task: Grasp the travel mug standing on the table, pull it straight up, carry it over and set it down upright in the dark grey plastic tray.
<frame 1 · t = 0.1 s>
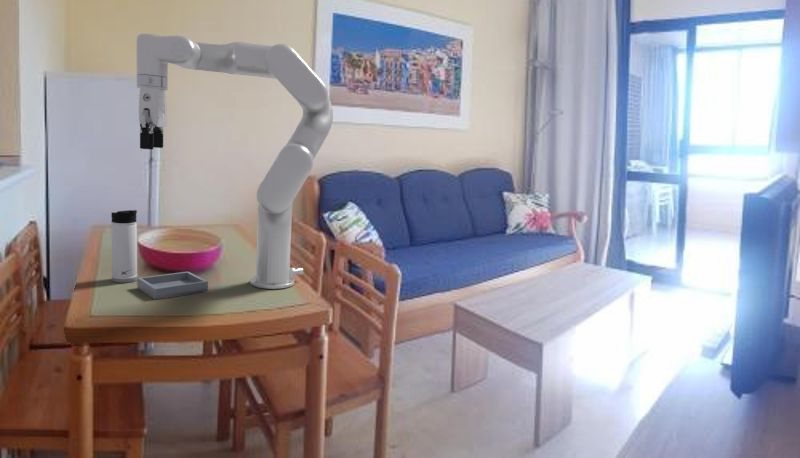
hand: (152, 148, 152), 37 cm above the table, tool pointing down, fingers open, 9 cm apart
travel mug: (125, 280, 157), on the table
tray: (172, 289, 152), on the table
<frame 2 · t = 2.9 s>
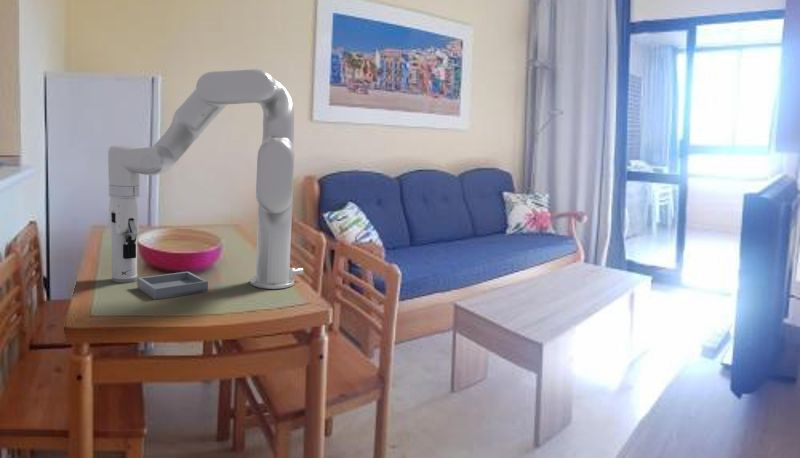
hand: (124, 255, 156), 7 cm above the table, tool pointing down, fingers closed on travel mug, 6 cm apart
travel mug: (125, 280, 157), on the table, touching gripper
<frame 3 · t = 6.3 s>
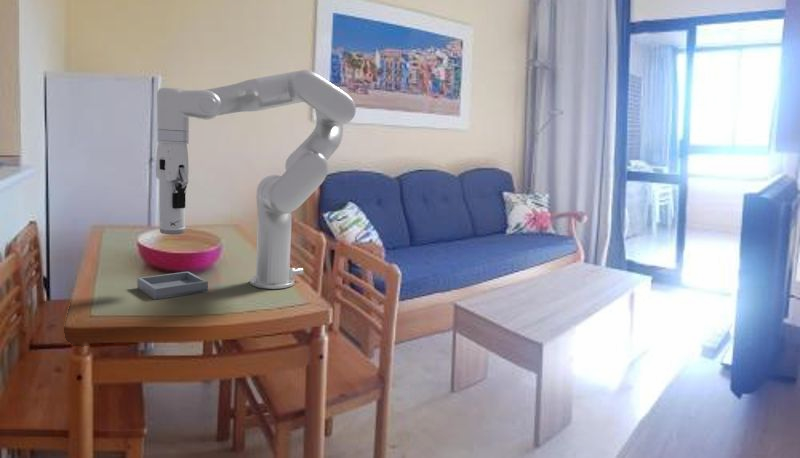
hand: (173, 205, 148), 23 cm above the table, tool pointing down, fingers closed on travel mug, 6 cm apart
travel mug: (173, 233, 149), point 16 cm above the table, touching gripper
when the fingers open (9 cm above the table, at t = 9.3 s): travel mug stays where it is, resting on tray.
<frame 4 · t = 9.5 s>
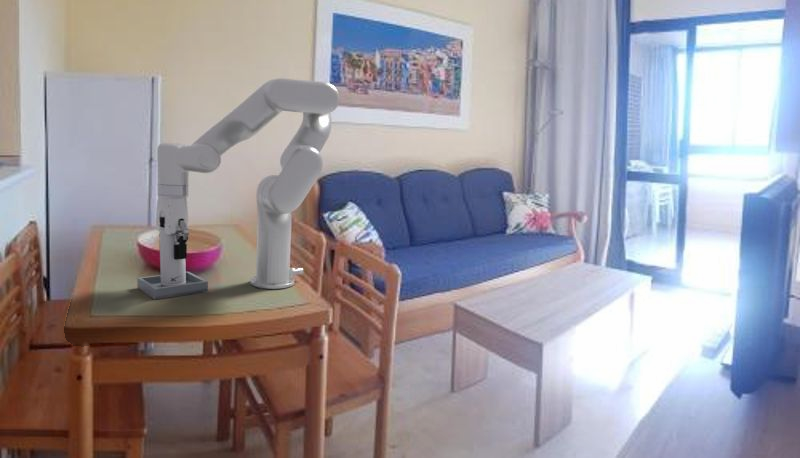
hand: (172, 255, 150), 10 cm above the table, tool pointing down, fingers open, 8 cm apart
travel mug: (174, 287, 152), point 1 cm above the table, touching tray
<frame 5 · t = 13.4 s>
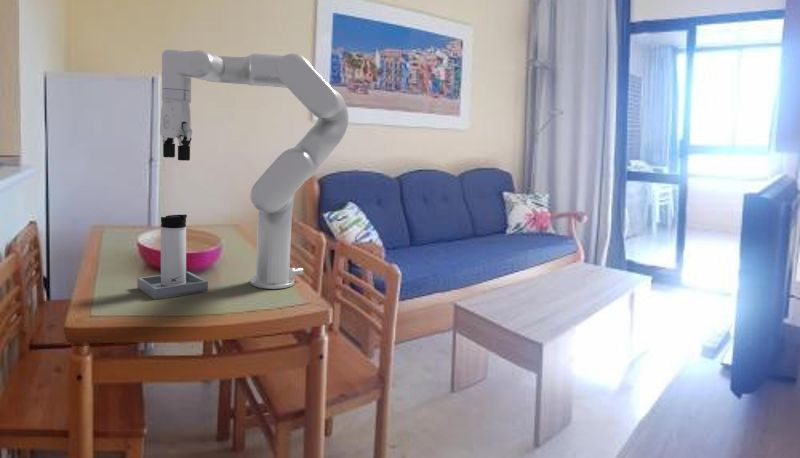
hand: (176, 158, 158), 34 cm above the table, tool pointing down, fingers open, 9 cm apart
nothing on the table moved.
at the end: travel mug inside the target area on the tray (0.4 cm from its centre), point 0.6 cm above the tray's base; travel mug tilted 0°; the gripper is holding nothing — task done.
